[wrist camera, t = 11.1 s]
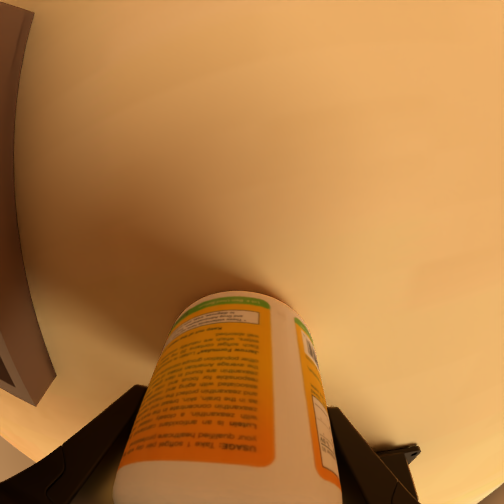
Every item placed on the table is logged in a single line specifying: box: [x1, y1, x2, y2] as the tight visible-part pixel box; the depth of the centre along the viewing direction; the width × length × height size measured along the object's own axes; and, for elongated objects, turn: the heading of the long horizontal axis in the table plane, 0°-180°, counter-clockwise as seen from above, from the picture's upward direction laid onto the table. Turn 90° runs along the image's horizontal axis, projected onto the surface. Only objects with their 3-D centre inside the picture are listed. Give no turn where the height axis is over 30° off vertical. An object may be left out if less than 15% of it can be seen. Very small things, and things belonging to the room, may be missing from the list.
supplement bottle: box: [113, 291, 342, 504], centre depth 6 cm, size 5×5×10 cm
